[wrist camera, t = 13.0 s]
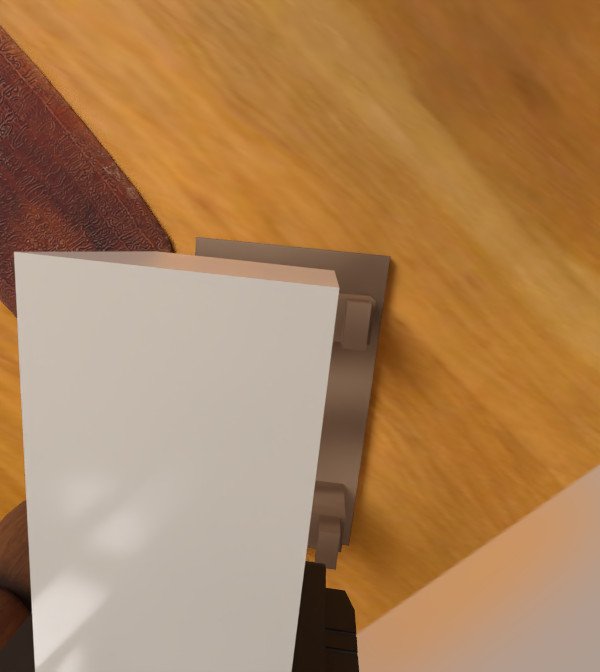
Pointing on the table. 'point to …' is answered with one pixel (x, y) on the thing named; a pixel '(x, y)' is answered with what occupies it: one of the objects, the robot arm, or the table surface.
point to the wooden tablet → (58, 178)
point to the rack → (333, 376)
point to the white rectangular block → (169, 456)
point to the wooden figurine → (14, 573)
